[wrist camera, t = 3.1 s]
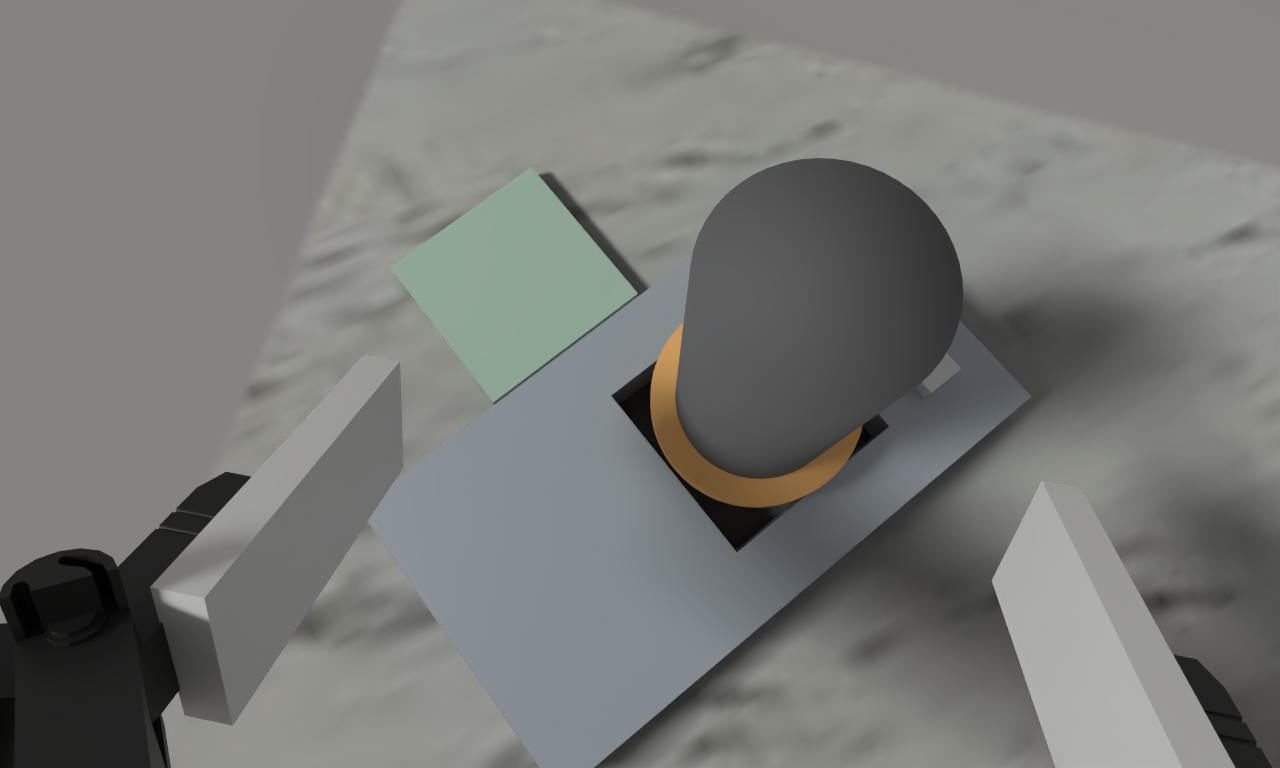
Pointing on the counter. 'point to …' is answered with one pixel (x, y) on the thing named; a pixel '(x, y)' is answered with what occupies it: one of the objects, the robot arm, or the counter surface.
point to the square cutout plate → (636, 532)
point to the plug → (801, 328)
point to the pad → (513, 284)
